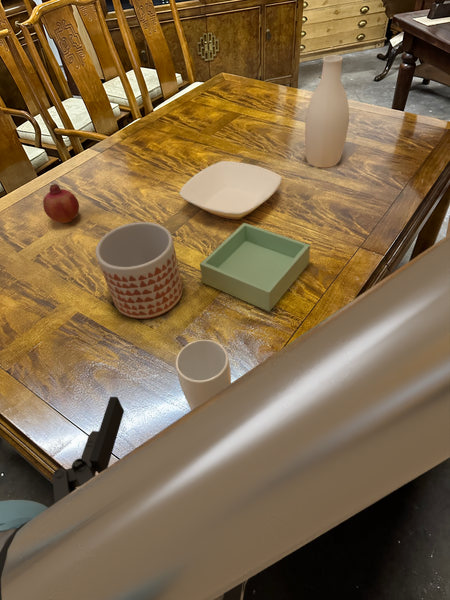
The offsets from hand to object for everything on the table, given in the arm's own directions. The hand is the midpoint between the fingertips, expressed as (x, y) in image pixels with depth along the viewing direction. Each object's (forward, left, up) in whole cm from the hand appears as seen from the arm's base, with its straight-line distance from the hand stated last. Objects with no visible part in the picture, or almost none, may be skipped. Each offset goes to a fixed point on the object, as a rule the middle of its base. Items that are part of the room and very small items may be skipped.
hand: (183, 406), depth 42 cm
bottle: (+26, -88, -20) cm, 94 cm away
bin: (+17, -39, -20) cm, 47 cm away
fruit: (+68, -32, -20) cm, 78 cm away
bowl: (+36, -58, -20) cm, 71 cm away
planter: (+32, -23, -20) cm, 44 cm away
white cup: (+5, -8, -20) cm, 22 cm away
